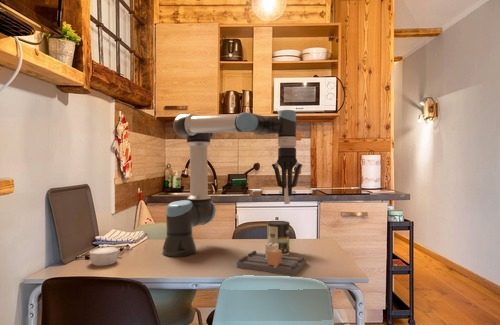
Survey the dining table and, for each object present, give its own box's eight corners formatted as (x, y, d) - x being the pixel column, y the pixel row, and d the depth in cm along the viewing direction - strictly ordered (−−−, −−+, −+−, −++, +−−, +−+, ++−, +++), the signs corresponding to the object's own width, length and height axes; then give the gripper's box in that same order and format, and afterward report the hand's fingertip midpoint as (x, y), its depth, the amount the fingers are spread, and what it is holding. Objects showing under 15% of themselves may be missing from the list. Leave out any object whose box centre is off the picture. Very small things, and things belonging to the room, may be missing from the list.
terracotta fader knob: (267, 264, 132) (267, 251, 132) (272, 261, 136) (272, 248, 136) (277, 265, 130) (277, 252, 130) (281, 262, 135) (281, 249, 135)
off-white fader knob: (265, 257, 142) (265, 244, 142) (269, 254, 146) (269, 242, 146) (274, 258, 140) (274, 245, 140) (278, 255, 145) (278, 243, 145)
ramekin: (90, 260, 145) (90, 248, 145) (118, 258, 149) (118, 245, 149) (88, 268, 135) (88, 254, 135) (118, 265, 139) (118, 252, 139)
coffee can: (290, 250, 162) (290, 220, 162) (288, 256, 151) (288, 224, 151) (268, 249, 164) (268, 220, 164) (265, 255, 154) (265, 223, 154)
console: (236, 267, 136) (236, 259, 136) (253, 256, 151) (253, 250, 151) (294, 275, 126) (294, 267, 126) (306, 263, 141) (306, 256, 141)
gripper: (269, 147, 142) (269, 203, 142) (299, 146, 137) (299, 205, 137) (275, 148, 149) (275, 202, 149) (304, 147, 144) (304, 203, 144)
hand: (287, 203), depth 143 cm, fingers closed
